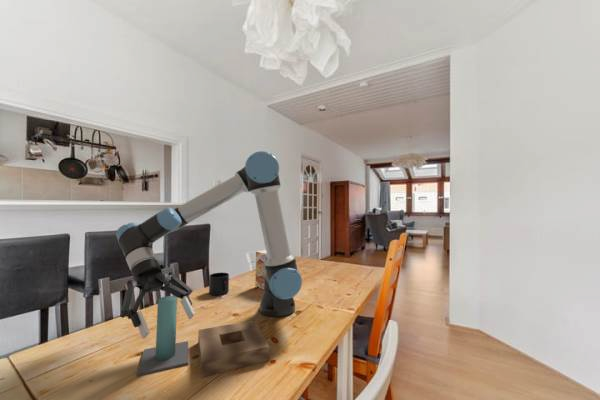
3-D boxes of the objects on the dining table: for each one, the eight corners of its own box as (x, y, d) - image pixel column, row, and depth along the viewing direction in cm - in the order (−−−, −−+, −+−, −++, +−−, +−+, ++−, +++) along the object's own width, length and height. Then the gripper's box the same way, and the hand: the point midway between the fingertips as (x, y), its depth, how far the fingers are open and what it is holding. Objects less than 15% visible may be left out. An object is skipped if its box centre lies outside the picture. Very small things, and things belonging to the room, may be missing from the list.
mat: (188, 342, 80) (188, 341, 80) (188, 364, 69) (188, 362, 69) (144, 351, 75) (144, 349, 75) (136, 376, 64) (136, 373, 64)
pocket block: (253, 331, 88) (253, 320, 88) (269, 360, 71) (269, 346, 71) (198, 342, 80) (198, 329, 80) (201, 377, 64) (201, 361, 64)
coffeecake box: (254, 287, 137) (255, 251, 137) (264, 284, 142) (265, 249, 143) (274, 293, 127) (274, 254, 128) (283, 290, 133) (284, 253, 133)
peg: (175, 349, 75) (177, 295, 76) (174, 358, 71) (177, 300, 71) (156, 352, 73) (158, 297, 74) (154, 362, 69) (156, 303, 69)
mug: (217, 298, 119) (217, 279, 119) (205, 292, 127) (206, 274, 127) (234, 294, 125) (235, 276, 126) (222, 288, 134) (223, 271, 134)
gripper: (175, 265, 91) (201, 316, 83) (91, 282, 70) (116, 353, 62) (185, 252, 89) (213, 303, 81) (101, 265, 67) (127, 337, 59)
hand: (171, 325), depth 71 cm, fingers open, 13 cm apart
